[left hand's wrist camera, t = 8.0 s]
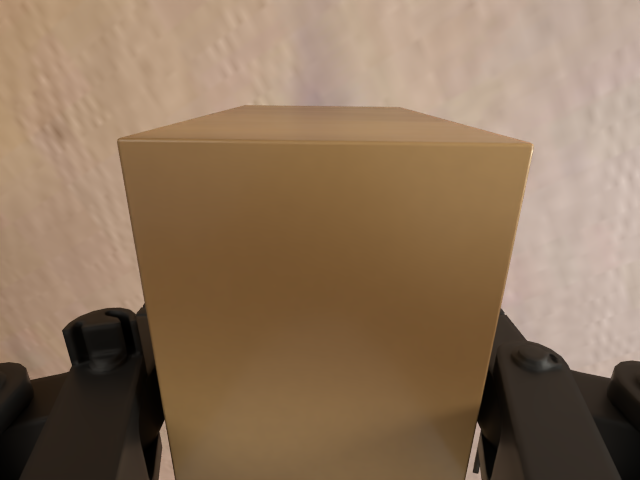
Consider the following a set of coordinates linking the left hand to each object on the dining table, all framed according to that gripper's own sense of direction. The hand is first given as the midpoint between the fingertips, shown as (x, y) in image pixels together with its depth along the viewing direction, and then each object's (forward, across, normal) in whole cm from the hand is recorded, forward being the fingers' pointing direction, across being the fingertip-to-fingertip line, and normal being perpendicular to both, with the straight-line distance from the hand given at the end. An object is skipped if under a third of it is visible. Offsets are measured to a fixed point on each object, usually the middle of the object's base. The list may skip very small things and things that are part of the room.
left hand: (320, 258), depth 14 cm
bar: (0, 0, -22) cm, 22 cm away
